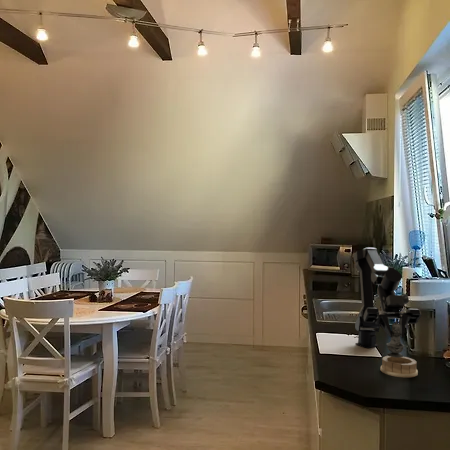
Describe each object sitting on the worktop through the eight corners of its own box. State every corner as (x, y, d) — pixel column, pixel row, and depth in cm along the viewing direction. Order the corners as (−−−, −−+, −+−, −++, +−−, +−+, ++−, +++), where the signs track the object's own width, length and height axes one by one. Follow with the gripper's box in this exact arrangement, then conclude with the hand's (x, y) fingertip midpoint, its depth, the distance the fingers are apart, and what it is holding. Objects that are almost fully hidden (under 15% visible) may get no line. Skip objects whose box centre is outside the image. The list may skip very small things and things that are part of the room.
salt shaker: (385, 352, 175) (386, 318, 175) (402, 353, 174) (404, 319, 174) (386, 356, 170) (388, 321, 169) (405, 358, 168) (406, 322, 168)
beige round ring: (373, 369, 174) (373, 357, 173) (395, 364, 180) (396, 353, 180) (402, 379, 163) (402, 367, 163) (425, 374, 170) (425, 362, 170)
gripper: (367, 284, 175) (375, 323, 164) (420, 286, 175) (432, 324, 164) (360, 302, 183) (367, 340, 172) (411, 304, 183) (421, 342, 173)
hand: (397, 336), depth 170 cm, fingers closed on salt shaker, 4 cm apart
